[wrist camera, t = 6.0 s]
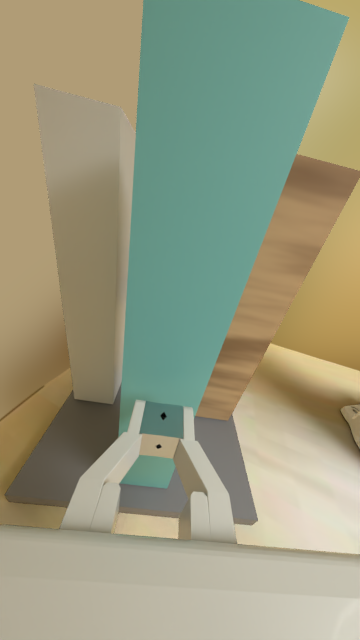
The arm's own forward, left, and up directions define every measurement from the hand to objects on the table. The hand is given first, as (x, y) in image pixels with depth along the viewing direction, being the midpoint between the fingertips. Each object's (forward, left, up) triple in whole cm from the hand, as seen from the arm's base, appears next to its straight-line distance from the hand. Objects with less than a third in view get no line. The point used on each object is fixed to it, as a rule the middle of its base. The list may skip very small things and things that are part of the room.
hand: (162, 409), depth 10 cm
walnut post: (-12, -7, -14) cm, 20 cm away
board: (-3, -7, -16) cm, 18 cm away
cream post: (+2, -14, -14) cm, 20 cm away
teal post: (-2, -4, -14) cm, 15 cm away
